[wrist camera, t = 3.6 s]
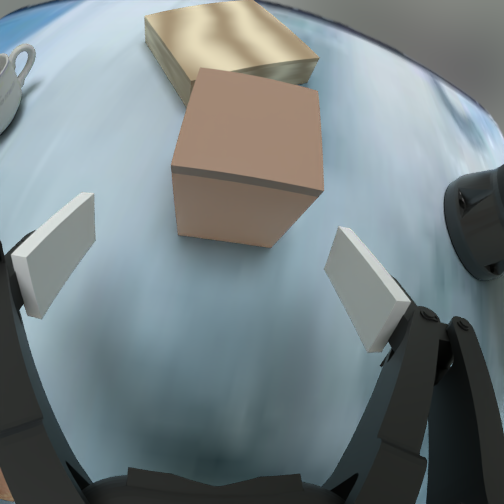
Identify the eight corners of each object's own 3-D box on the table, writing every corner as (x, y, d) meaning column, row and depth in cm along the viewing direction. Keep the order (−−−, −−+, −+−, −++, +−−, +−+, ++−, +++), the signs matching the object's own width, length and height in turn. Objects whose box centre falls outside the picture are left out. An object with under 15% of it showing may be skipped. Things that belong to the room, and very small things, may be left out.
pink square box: (275, 169, 28) (317, 91, 17) (271, 248, 26) (323, 190, 15) (193, 155, 26) (200, 67, 16) (178, 235, 24) (170, 165, 14)
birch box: (246, 24, 35) (252, -1, 30) (306, 84, 33) (319, 57, 28) (145, 44, 30) (144, 16, 26) (188, 114, 28) (190, 81, 23)
